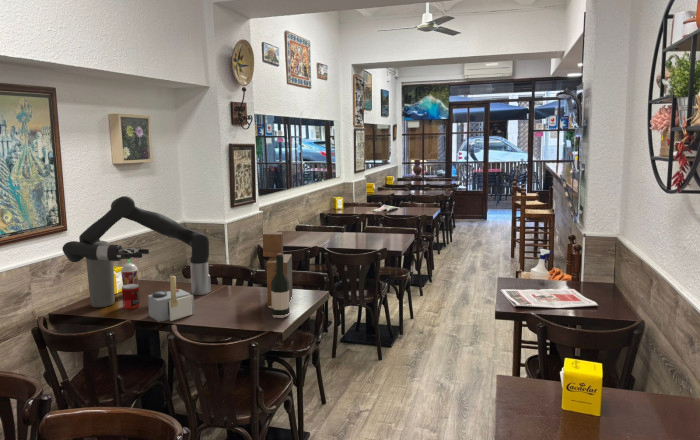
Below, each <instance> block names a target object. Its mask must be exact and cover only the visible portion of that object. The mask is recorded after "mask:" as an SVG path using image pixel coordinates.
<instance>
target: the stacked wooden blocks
mask: <svg viewBox="0 0 700 440" xmlns="http://www.w3.org/2000/svg"><path fill="white" fill-rule="evenodd" d="M283 233H284V232H283V231H281V232H278V231H277V232H275V231H274V232H271V231H270V232H269V231H268V232H267V231H265V232H263V233H262V256H263V257H269V259H268V260H267V261H265V262H264V272H265V273H266V286H267V287H266V289H267V292H266V293H267V294H266V295H267V297H266V298H267V300H266V301H267V306H272V297H271V282H272V280H273V278H274V277H275V275H276V256H277V254H278V253H282V255H283V260H284V274H285V276H286V277H287V279H288V280H289V302H290V300H291V297H292V295H293V255H292V253H290V254H289V253H287V254H286V253H285V254H284V234H283ZM292 298H293V297H292ZM291 301H292V300H291ZM290 303H291V302H290Z"/></svg>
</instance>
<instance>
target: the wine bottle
mask: <svg viewBox="0 0 700 440" xmlns="http://www.w3.org/2000/svg"><path fill="white" fill-rule="evenodd" d="M271 297H272V308H271V315H272V314H273V315H285V314H288V313H289V314H290V305H289V280H288V279H287V277H286V276H285V274H284V260H283V255H282V253H278V254H277V256H276V275H275V277H274V278H273V280H272V282H271Z"/></svg>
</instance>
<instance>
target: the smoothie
mask: <svg viewBox="0 0 700 440" xmlns="http://www.w3.org/2000/svg"><path fill="white" fill-rule="evenodd" d="M127 260H128V263H125V264H124V265H122V268H121V270H120V273H121V281H122V286H123V285H127V284H138V282H139V281H138V275H139V273H138V270H139V268H138V267H137V265H136V264H135V263H131V258H130V259H127ZM138 285H139V284H138Z"/></svg>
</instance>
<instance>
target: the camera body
mask: <svg viewBox="0 0 700 440" xmlns="http://www.w3.org/2000/svg"><path fill="white" fill-rule="evenodd" d="M190 295H192V293H190V292H188V291H185V290H183V289H181V288H180V289H179V288H176V296H177V299H179V298H182V297H186V296H190ZM170 300H171V290H169V291H164V290H163V291H162V290H160V291H155V292H153V293H151V294H149V295H147V303H148V304H147V305H148V316H149V317H150V318H152V319H154V320H155V321H157V322H158V323H160V321H161V322H165V321H168V320H169V321H170V308H169V301H170Z"/></svg>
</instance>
